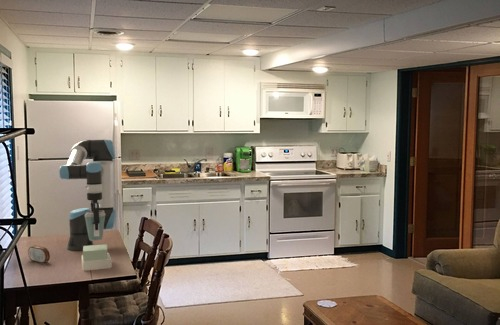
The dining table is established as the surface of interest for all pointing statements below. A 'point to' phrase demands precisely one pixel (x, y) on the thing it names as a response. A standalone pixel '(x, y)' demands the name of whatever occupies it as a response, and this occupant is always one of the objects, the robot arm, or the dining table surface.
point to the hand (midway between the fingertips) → (95, 234)
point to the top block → (95, 252)
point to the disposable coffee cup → (90, 227)
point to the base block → (97, 264)
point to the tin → (39, 254)
